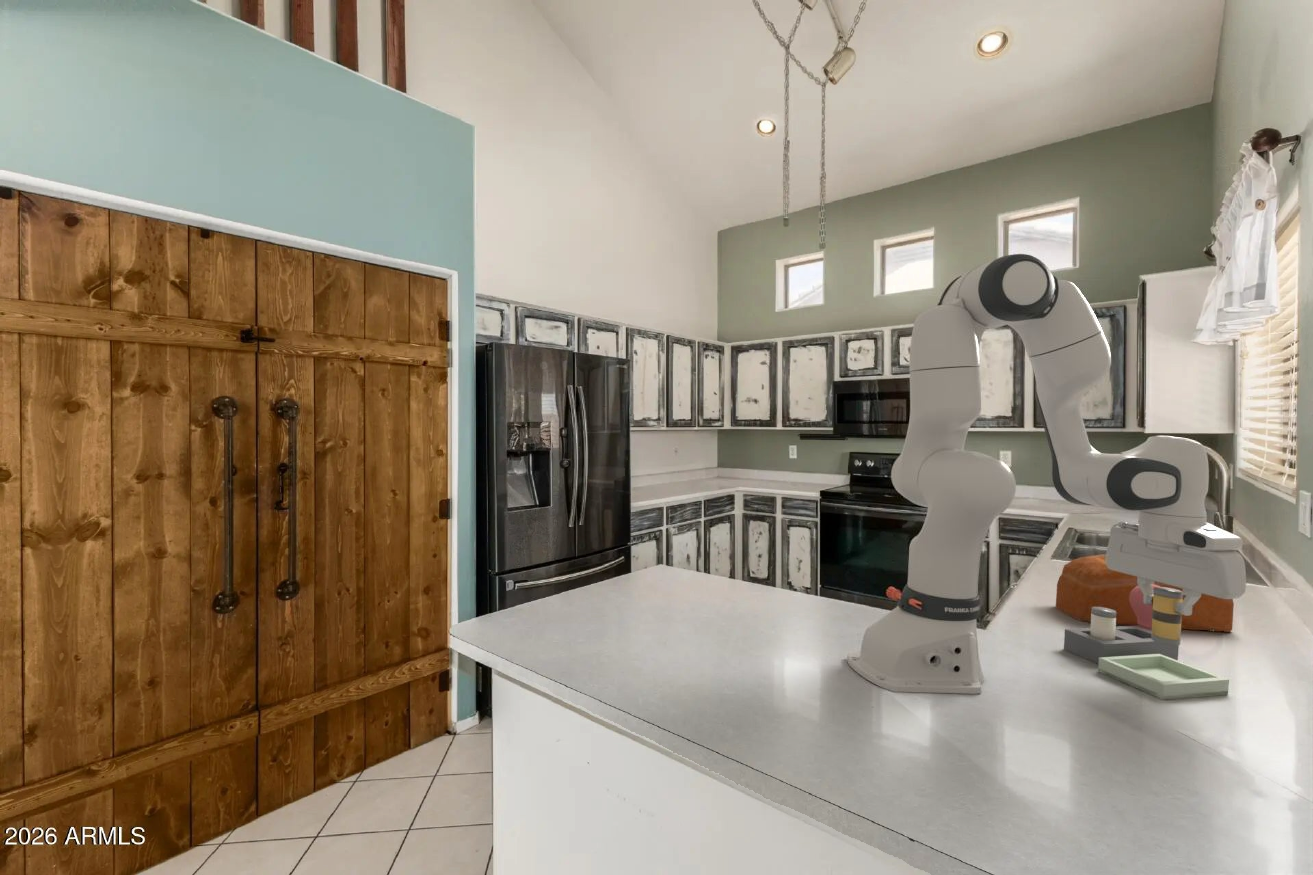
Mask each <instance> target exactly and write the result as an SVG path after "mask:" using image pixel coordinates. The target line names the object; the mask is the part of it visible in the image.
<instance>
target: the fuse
mask: <svg viewBox="0 0 1313 875" xmlns="http://www.w3.org/2000/svg"><path fill="white" fill-rule="evenodd" d="M1116 627H1117V624H1116V611H1115V610H1112V609H1108V608H1103V607H1092V611H1091V622H1090V628H1091V629H1090V635H1091V636H1094V637H1096V638H1099V639H1102V640H1104V641H1110V640H1115V628H1116Z"/></svg>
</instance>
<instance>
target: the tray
mask: <svg viewBox="0 0 1313 875" xmlns="http://www.w3.org/2000/svg"><path fill="white" fill-rule="evenodd" d="M1097 666H1098V667H1097V672H1099V673H1101V674H1104V675H1106V676H1108V677H1110V678H1112V679H1114V680H1117V681H1119V682H1122V683H1124V684H1126V685H1128V686H1131V687H1133V688H1135V689H1137V690H1140V691H1142V692H1144V693H1147V694H1149V695H1151V696H1153V697H1154V698H1158V699H1160V700H1162V701H1167V699H1168V700H1178V699H1187V698H1188V699H1189V698H1191V699H1192V698H1201V697H1212V696H1213V697H1214V696H1224V695H1229V686H1230V685H1229V684H1230V679H1229V678H1226V677H1223V676H1221V675H1217V674H1216V673H1215V674H1214V673H1213V672H1210V671H1207V670H1204V669H1201V668H1199V667H1196V666H1193V665H1190V664H1188V663H1185V662H1182V661H1180V660H1179V659H1178V660H1175V659H1172V658H1169V657H1167V656H1164V655H1161V654H1147V655H1131V656H1116V657H1100V658H1099V664H1098V663H1097Z"/></svg>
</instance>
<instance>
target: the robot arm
mask: <svg viewBox="0 0 1313 875" xmlns="http://www.w3.org/2000/svg"><path fill="white" fill-rule="evenodd" d="M1099 322H1100V321H1098V318H1097V316H1096V314H1095V313H1094V310H1093V309H1092V307H1091V306H1090V304H1089V302H1088V301H1087V299H1086V297H1085V296H1084V295H1083V293H1082V292H1081V290H1080V289H1079V288H1078V287H1077V286H1076V284H1075V283H1073V282H1071V281H1068V280H1064V279H1058V278H1057V277H1056V276H1055V275H1053V273H1052V272H1051V270H1050V269H1049V267H1048V266H1047V265H1046V264H1045V263H1044V262H1043V261H1042V260H1041V259H1038V258H1037V257H1035V256H1033V255H1031V254H1025V253H1015V254H1008V255H1004V256H1000V257H997V258H996V259H994V260H993V261H990V262H987V263H984V264H983V263H982V264H980V265H978V266H975V267H973V268H972V269H970V270H968V271H967V272H965V273H964V274H963V275H960V276H958V277H956V278H955V279H954V280H952V281H951V282H950V283H949V284H948V285H947V286H946V287H945V289H944V291H943V292H942V295H941V297H940V298H939V302H938V303H937V305H936V306H931V307H929V308H928V309H925V310H924V311H922V312H921V313H920V314H919V315H917V317H916V319H915V321H914V322H913V328H912V331H911V332H912V333H911V339H910V347H909V348H910V349H909V400H910V401H909V404H910V405H909V422H908V427H907V432H906V435H905V440H904V444H903V447H902V451H901V453H900V454H899V456H898V457H897V458H896V459H895V461H894V462H893V465H892V468H891V472H890V476H891V477H890V480H891V483H892V485H893V487H894V489H895V490H896V491H897V492H898V494H900V495H901V497H902V496H903V498H904V499H907V500H908V501H909V502H911V503H912V504H915V505H917V506H920V507H925V508H927V512H926V515H925V518H924V519H925V520H924V521H923V522H924V523H923V525H922V528H921V529H920V531H919V533H918V534H917V535H916V536H914V537H913V538H912V540H910V543H909V548H908V566H907V568H908V570H907V583H906V584H904V585H905V586H904V587H903V589H902V591H901V590H900V589H897V588H895V587H894V586H889V587H888V588H887V589H886V591H885V594H886V596H887V597H888V598H889V599H892V600H893V601H896V602H897V604H896V605H897V606H896V607H895V608H893V609H891V611H889V612H888V613H886V614H885V615H884V616H882V617H881V618H880V619H878V620H877V621H876V622H874V623H873V624H871V625H870V626H869V627H867V628H866V629H865V631H864V634H863V639H862V642H861V646H860V650H859V651H858V650H857V651H852V652H851V651H850V652H849V653H848V654H847V660H846V661H847V663H848V665H849V666H850V667H851V668H852V669H853V671H855V672H856V673H857V674H859V675H860V676H861V677H863V678H864V679H866V680H868V681H869V682H871V683H873V684H874V685H877V686H879V687H881V688H883V689H886V690H888V691H892V692H898V693H899V692H900V693H901V692H902V693H904V692H905V693H934V694H935V693H937V694H938V693H942V694H944V693H946V694H951V693H952V694H980V693H982V683H983V682H984V679H985V677H984V675H983V674H984V673H983V671H982V666H981V661H980V654H979V645H978V644H979V643H978V632H977V619H978V618H979V617H980V609H981V608H980V607H981V606H980V605H981V604H980V602H981V601H980V600H981V598H980V595H979V594H978V585H979V572H980V561H981V559H980V558H981V552H982V549H983V545H984V542H985V539H986V537H987V534H988V532H989V530H990V527H991V525H992V523H993V522H994V521H995V519H996V518H997V517H998V516H999V515H1001V514H1003V513H1004V512H1005V511H1006V510H1007V509H1008V508H1009V507H1010V506H1011V505H1012V503H1013V501H1014V499H1015V495H1016V491H1017V490H1016V489H1017V484H1016V478H1015V475H1014V473H1013V471H1012V470H1011V468H1010V467H1009V466H1008V465H1007V464H1006V463H1005V462H1004V461H1002V460H999V459H997V458H995V457H993V456H990V455H989V454H985V453H983V452H981V451H971V450H964V449H965V445H966V439H967V436H968V433H969V430H970V428H971V426H972V425H973V424H974V422H975V421H976V420H977V419H978V418H979V416H980V415H981V411H982V387H981V386H982V385H981V360H980V359H981V358H980V345H981V340H982V337H983V334H984V332H985V331H986V330H988V329H997V328H1000V327H1004V326H1006V325H1007V326H1009V327H1010V328H1012V329H1013V330H1014V331H1015V332H1016V333H1017V334H1018V336H1019V338H1021V341H1022V344H1023V347H1024V349H1025V351H1026V354H1027V356H1028V359H1029V362H1030V364H1031V368H1032V370H1033V373H1034V377H1035V383H1036V385H1035V397H1036V403H1037V408H1038V411H1039V415H1040V418H1041V422H1042V425H1043V429H1044V432H1045V435H1046V436H1045V437H1046V439H1047V443H1048V446H1049V450H1050V454H1051V459H1052V460H1051V461H1052V463H1051V466H1052V470H1051V473H1052V483H1053V486H1054V489H1055V490H1056V492H1057V493H1058V495H1060V497H1062V498H1063V499H1064V500H1065V501H1067V502H1069V503H1071V504H1076V505H1084V506H1096V507H1102V508H1108V509H1113V510H1114V509H1115V510H1119V511H1125V512H1126V511H1127V512H1135V511H1138V520H1137V521H1138V523H1130V522H1129V523H1128V522H1125V521H1119V522H1117V523H1115V524H1113V525H1112V526H1111V527H1110V531H1109V532H1110V533H1109V540H1108V542H1107V548H1106V553H1105V555H1106V560H1105V563H1106V565H1107V567H1108V568H1109V569H1110V570H1113V571H1117V572H1121V573H1125V574H1129V575H1133V576H1136V577H1137V583H1138V585H1139V587H1140V589H1141V591H1142V593H1143V594H1144V597H1143V602H1144V603H1145V604H1148V605H1151V606H1153V592H1154V590H1153V588H1152V586H1151V584H1154V581H1156V582H1160V583H1164V584H1168V585H1172V586H1175V587H1179V588H1183V595H1186V597H1185V598H1184V600H1183V601H1182V602H1181V603H1175V608H1176V609H1175V612H1176V613H1178V614H1181V615H1185V616H1189V615H1191V614H1192V606H1193V605H1194V604H1195V603H1196V602H1197V601H1198V600H1199V598H1200V597H1201V593H1203V594H1207V595H1211V596H1214V597H1218V598H1222V599H1233V600H1235V599H1239V598H1241V597H1242V596H1243V595H1245V594H1246V588H1247V572H1246V563H1245V559H1244V558H1243V556H1242V555H1241V554H1240V553H1239V552H1238V551H1239V550H1241V549H1242V548H1243V546H1244V541H1243V539H1242V538H1241V537H1240V536H1239V535H1235V534H1233V533H1231V532H1229V531H1227V530H1224V529H1222V528H1220V527H1217V526H1215V525H1214V524H1211V523H1210V522H1207V519H1208V517H1207V516H1208V515H1207V511H1206V510H1207V509H1206V507H1205V500H1206V497H1207V494H1208V492H1209V482H1210V481H1209V479H1210V474H1209V473H1210V468H1209V467H1210V466H1209V459H1208V452H1207V451H1206V448H1205V446H1204V445H1203V444H1202V443H1201V442H1199V441H1197V440H1193V439H1191V438H1185V437H1179V436H1172V435H1152V436H1149V437H1147V440H1146V441H1145V442H1143V443H1140V444H1139V445H1138V446H1136V447H1133V448H1131V449H1129V450H1126V451H1125V450H1124V451H1121V452H1120V453H1105V452H1104V453H1102V452H1100V451H1098V450H1096V448H1094V447H1093V446H1092V445H1091V443H1090V441H1089V436H1088V432H1087V430H1086V427H1085V426H1086V425H1085V423H1084V419H1083V415H1082V411H1081V402H1082V399H1083V397H1084V396H1085V395H1086V393H1088V392H1089V391H1091V390H1093V389H1094V388H1095V387H1097V386H1099V384H1100V383H1101V382H1102V381H1103V379H1105V377H1106V376H1107V374H1108V373H1109V370H1110V368H1111V365H1112V354H1111V349H1110V346H1109V344H1108V340H1107V338H1106V336H1105V333H1104V331H1103V329H1102V327H1101V324H1100V323H1099Z"/></svg>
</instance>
